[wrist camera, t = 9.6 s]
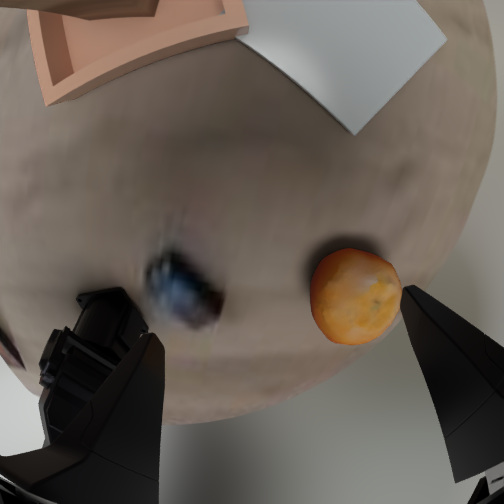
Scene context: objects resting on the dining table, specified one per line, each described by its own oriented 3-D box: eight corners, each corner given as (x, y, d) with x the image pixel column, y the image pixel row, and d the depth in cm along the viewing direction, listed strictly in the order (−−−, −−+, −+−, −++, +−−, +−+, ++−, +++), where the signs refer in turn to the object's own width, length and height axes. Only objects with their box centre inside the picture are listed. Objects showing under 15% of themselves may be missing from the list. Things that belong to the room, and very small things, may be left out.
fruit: (280, 317, 26) (315, 351, 18) (305, 236, 26) (351, 240, 18) (349, 331, 28) (395, 360, 20) (372, 259, 28) (425, 269, 20)
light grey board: (349, 132, 18) (354, 135, 17) (213, 25, 13) (211, 22, 13) (440, 39, 13) (447, 39, 12) (324, -68, 8) (328, -73, 7)
